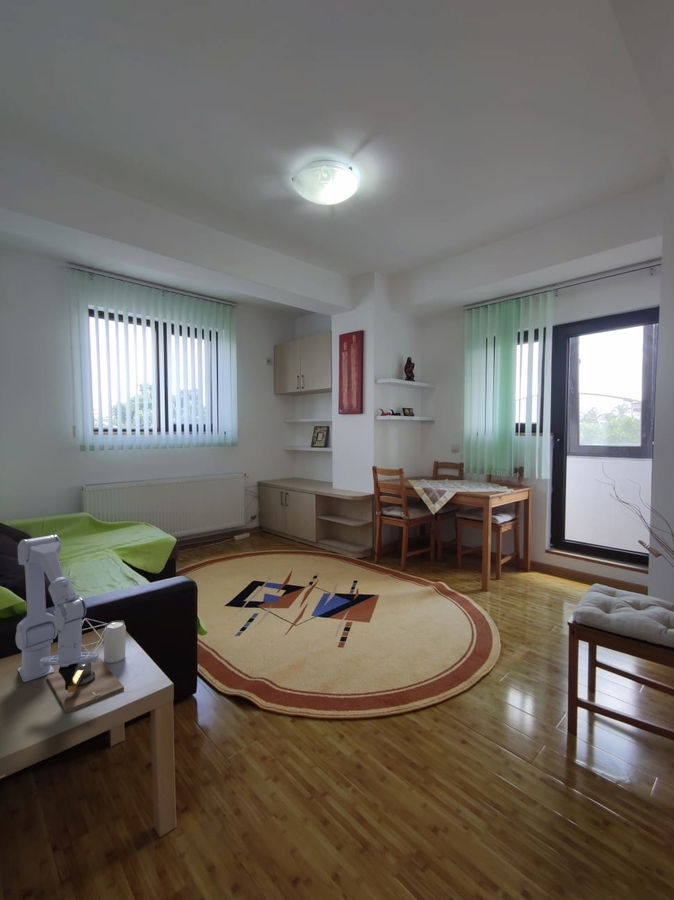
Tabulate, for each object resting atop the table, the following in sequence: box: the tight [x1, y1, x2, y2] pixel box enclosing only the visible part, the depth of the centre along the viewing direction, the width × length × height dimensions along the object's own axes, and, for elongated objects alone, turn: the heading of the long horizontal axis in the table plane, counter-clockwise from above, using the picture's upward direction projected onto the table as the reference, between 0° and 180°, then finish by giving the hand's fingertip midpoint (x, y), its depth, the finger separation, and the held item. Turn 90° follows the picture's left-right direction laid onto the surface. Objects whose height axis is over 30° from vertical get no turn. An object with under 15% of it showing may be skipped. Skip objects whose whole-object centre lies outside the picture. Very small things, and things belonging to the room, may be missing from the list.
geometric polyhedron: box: [81, 617, 108, 653], centre depth 146 cm, size 12×11×9 cm
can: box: [103, 620, 127, 664], centre depth 140 cm, size 6×6×12 cm
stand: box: [46, 657, 125, 714], centre depth 126 cm, size 22×15×1 cm
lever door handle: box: [68, 662, 95, 693], centre depth 123 cm, size 13×7×4 cm, turn 17°
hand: (69, 687), depth 119 cm, fingers closed, pressing on lever door handle
